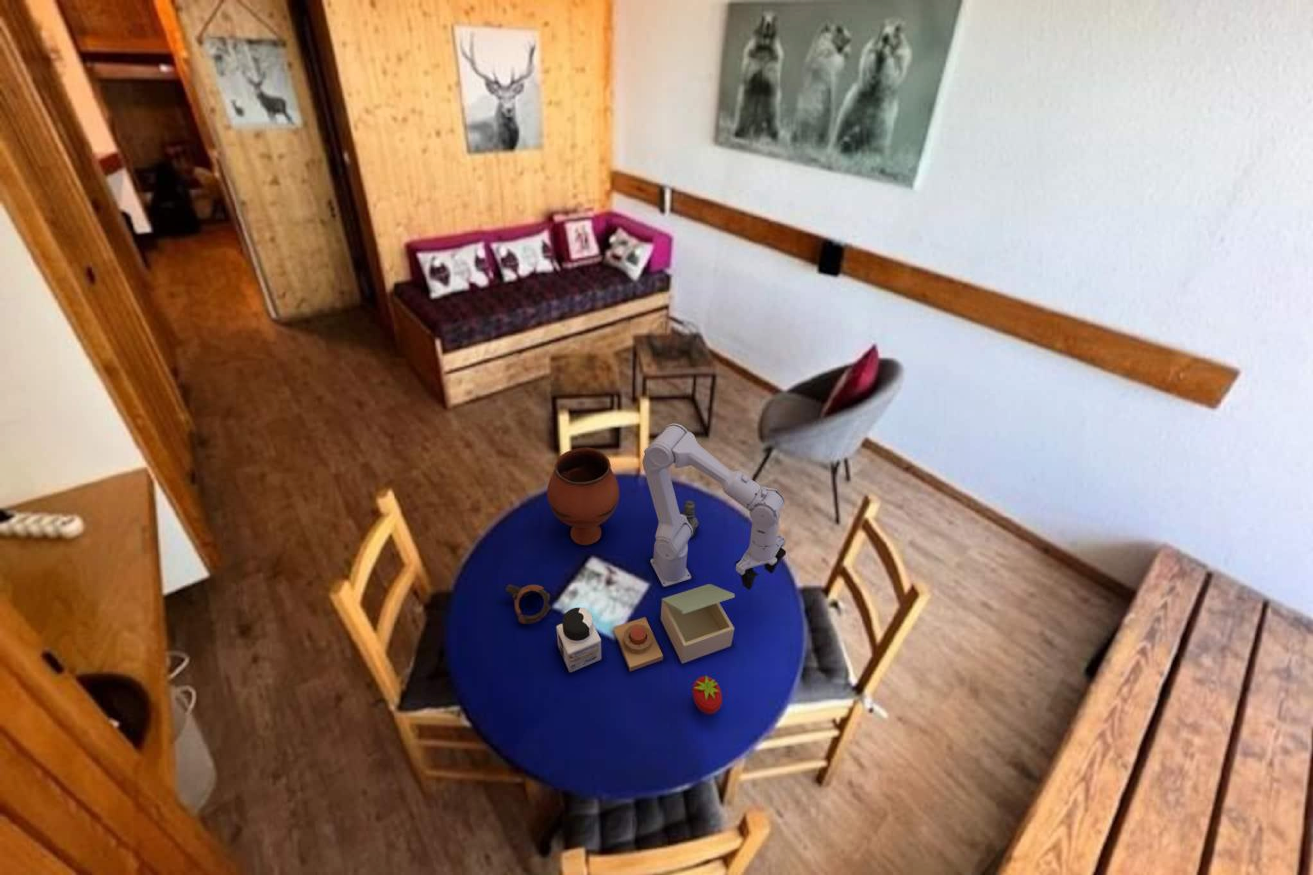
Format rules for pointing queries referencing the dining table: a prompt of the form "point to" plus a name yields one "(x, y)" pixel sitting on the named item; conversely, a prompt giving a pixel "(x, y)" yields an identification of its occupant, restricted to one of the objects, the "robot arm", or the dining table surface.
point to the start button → (637, 635)
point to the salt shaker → (690, 515)
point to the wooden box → (697, 630)
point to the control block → (637, 645)
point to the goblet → (583, 492)
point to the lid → (697, 598)
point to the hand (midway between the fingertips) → (758, 578)
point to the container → (578, 639)
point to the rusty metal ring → (526, 590)
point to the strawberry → (707, 695)
